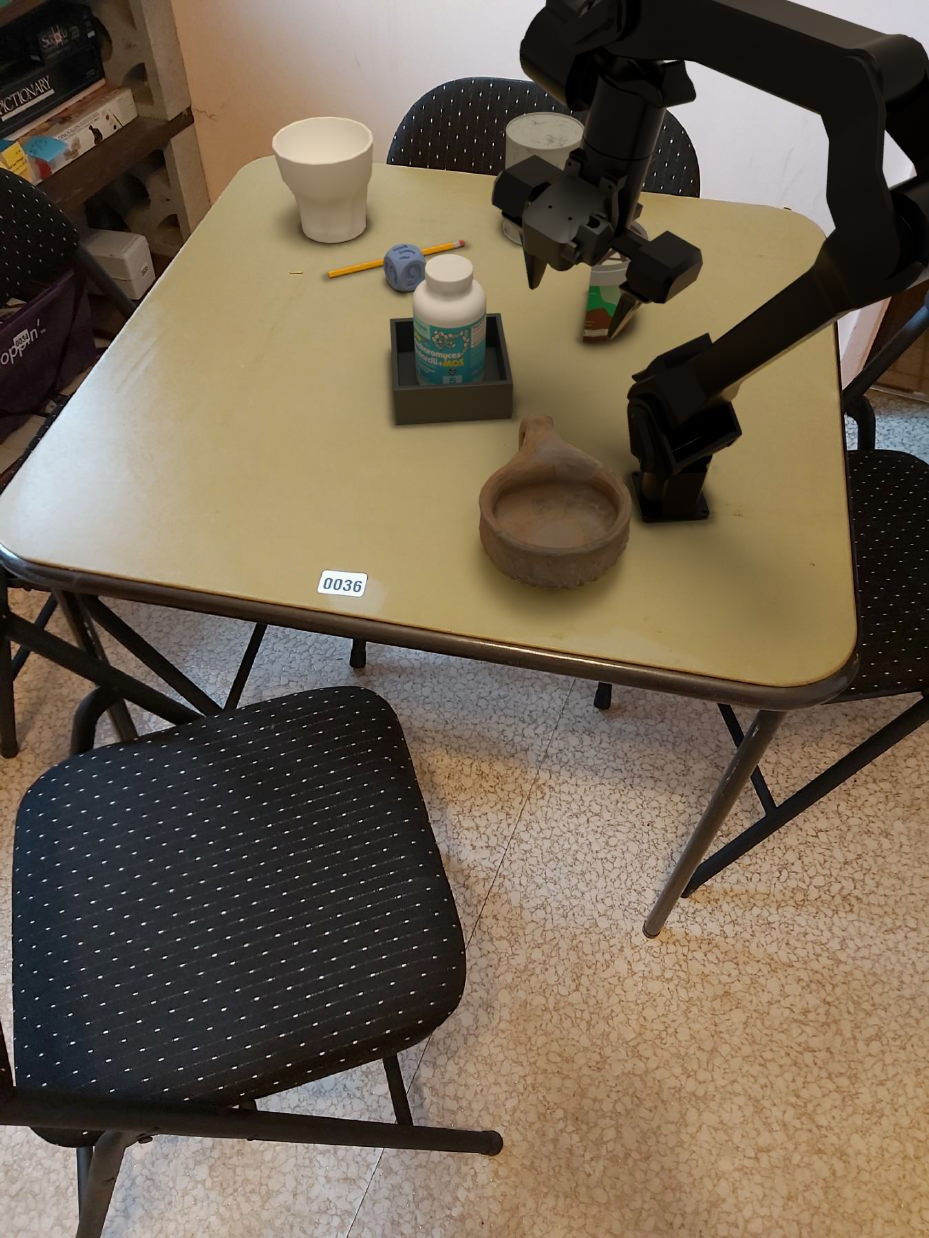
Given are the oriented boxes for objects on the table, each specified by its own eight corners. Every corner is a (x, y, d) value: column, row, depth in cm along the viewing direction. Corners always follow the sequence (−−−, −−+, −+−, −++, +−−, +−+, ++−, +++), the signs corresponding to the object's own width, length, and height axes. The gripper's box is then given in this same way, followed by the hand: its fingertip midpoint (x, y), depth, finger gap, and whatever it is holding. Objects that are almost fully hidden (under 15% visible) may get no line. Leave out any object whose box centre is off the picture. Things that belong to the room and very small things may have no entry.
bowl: (426, 483, 81) (452, 396, 74) (552, 479, 87) (587, 399, 79) (491, 623, 71) (527, 538, 64) (629, 608, 76) (676, 529, 69)
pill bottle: (404, 390, 91) (395, 275, 80) (437, 353, 94) (433, 238, 83) (465, 412, 88) (464, 297, 78) (496, 372, 92) (500, 257, 81)
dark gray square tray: (511, 418, 89) (513, 383, 85) (396, 424, 88) (393, 390, 84) (499, 347, 96) (500, 312, 92) (392, 353, 95) (389, 318, 92)
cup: (279, 211, 114) (263, 124, 105) (368, 196, 116) (360, 110, 107) (296, 259, 107) (281, 170, 98) (391, 242, 109) (384, 154, 100)
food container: (635, 355, 95) (650, 274, 87) (580, 349, 95) (591, 267, 87) (643, 293, 102) (658, 213, 94) (592, 288, 103) (603, 207, 94)
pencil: (464, 247, 108) (464, 242, 108) (330, 279, 104) (329, 274, 104) (462, 244, 109) (462, 239, 108) (328, 276, 105) (327, 271, 104)
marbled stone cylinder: (494, 241, 109) (496, 142, 99) (513, 205, 114) (517, 108, 104) (566, 253, 107) (575, 153, 97) (581, 215, 113) (592, 117, 103)
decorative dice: (411, 270, 105) (410, 240, 102) (428, 285, 103) (427, 255, 100) (384, 280, 104) (381, 249, 101) (400, 296, 102) (398, 265, 99)
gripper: (461, 119, 64) (440, 296, 77) (660, 234, 59) (601, 403, 72) (549, 81, 69) (516, 252, 82) (738, 182, 64) (671, 348, 77)
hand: (571, 312), depth 78 cm, fingers open, 9 cm apart
